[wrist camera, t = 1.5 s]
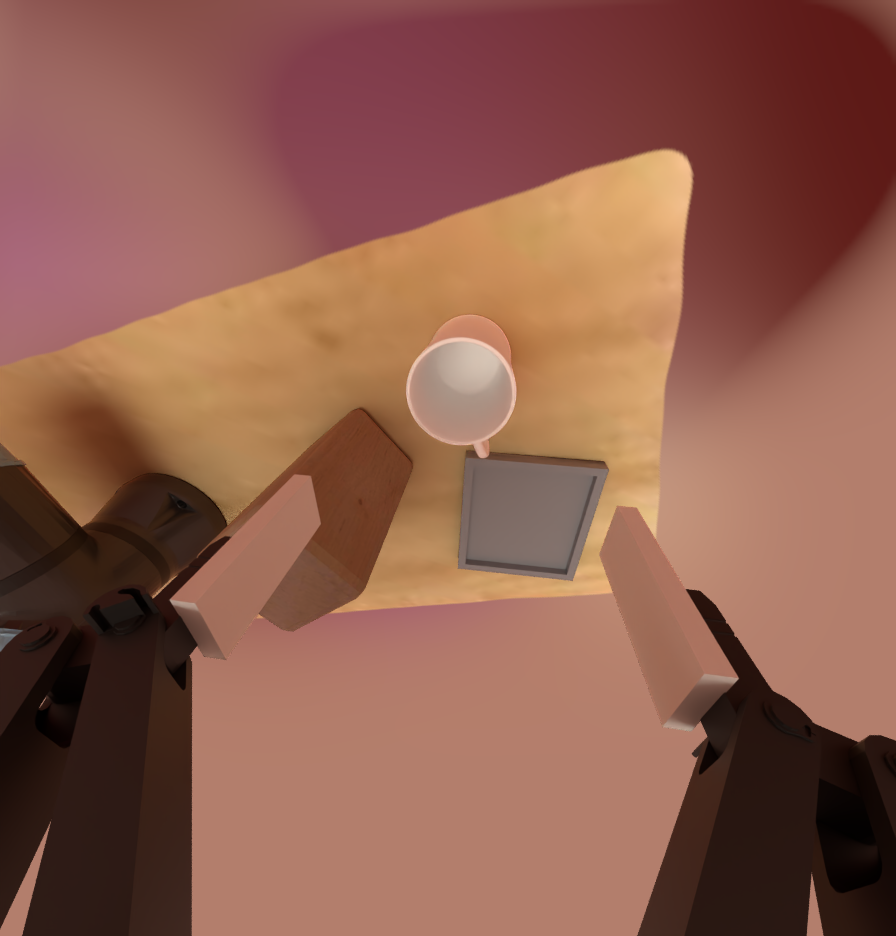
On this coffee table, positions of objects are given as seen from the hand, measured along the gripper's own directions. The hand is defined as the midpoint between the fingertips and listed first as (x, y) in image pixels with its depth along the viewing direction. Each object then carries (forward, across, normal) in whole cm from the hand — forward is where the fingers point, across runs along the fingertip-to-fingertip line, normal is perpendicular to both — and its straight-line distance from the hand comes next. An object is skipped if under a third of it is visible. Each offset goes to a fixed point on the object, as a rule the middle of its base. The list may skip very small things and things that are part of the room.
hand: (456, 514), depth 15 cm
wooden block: (+24, -14, -11) cm, 30 cm away
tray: (+24, +7, -18) cm, 31 cm away
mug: (+24, -1, 0) cm, 24 cm away
